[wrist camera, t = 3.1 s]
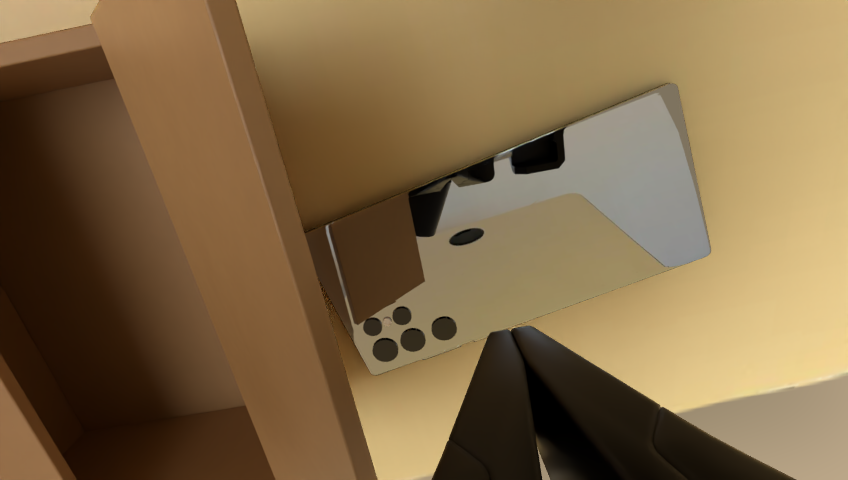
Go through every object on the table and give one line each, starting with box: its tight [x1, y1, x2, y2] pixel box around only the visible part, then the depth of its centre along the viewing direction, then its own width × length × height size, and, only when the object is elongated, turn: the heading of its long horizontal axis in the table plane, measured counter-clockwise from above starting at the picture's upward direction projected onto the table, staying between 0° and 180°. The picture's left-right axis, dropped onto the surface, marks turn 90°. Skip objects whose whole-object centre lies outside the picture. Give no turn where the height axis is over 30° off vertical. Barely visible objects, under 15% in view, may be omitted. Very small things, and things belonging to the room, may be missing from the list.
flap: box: [91, 0, 377, 480], centre depth 10 cm, size 6×16×1 cm
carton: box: [0, 24, 275, 480], centre depth 16 cm, size 13×16×7 cm
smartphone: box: [305, 83, 711, 375], centre depth 19 cm, size 8×1×16 cm
